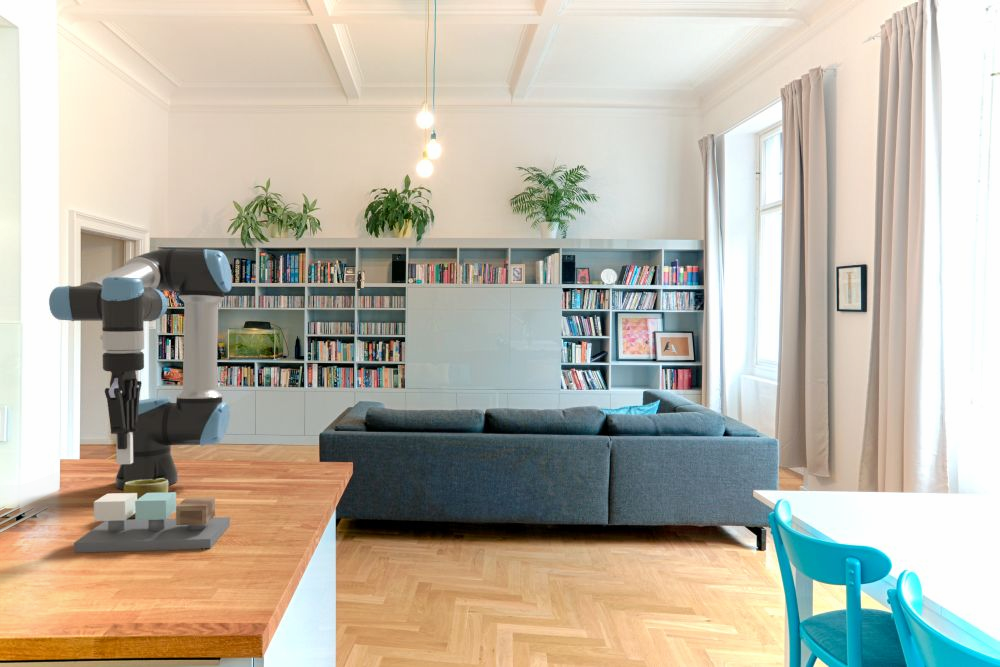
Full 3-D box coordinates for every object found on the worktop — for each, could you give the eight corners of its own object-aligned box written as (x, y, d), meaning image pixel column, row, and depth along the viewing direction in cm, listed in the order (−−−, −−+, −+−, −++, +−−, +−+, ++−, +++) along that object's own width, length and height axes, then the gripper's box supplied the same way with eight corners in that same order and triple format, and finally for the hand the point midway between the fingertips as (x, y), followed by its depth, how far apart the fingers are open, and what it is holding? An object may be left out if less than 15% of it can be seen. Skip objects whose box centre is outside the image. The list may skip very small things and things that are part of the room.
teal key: (147, 511, 144) (146, 492, 144) (176, 510, 145) (176, 492, 145) (135, 520, 138) (135, 500, 138) (166, 519, 139) (165, 500, 139)
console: (106, 529, 147) (106, 505, 147) (229, 525, 150) (229, 503, 150) (74, 552, 133) (73, 526, 133) (210, 548, 136) (210, 523, 136)
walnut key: (186, 516, 145) (186, 497, 145) (215, 515, 146) (214, 497, 146) (176, 525, 139) (176, 506, 139) (206, 524, 140) (206, 505, 140)
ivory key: (107, 512, 143) (107, 493, 143) (137, 511, 144) (137, 492, 144) (94, 521, 137) (93, 501, 137) (125, 520, 138) (124, 501, 138)
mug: (151, 516, 150) (146, 472, 152) (114, 527, 152) (109, 483, 154) (190, 511, 162) (184, 470, 164) (154, 521, 164) (149, 480, 166)
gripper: (117, 349, 145) (118, 456, 146) (89, 353, 132) (91, 471, 133) (154, 349, 146) (155, 455, 147) (130, 354, 133) (131, 470, 135)
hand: (124, 463), depth 140 cm, fingers closed
